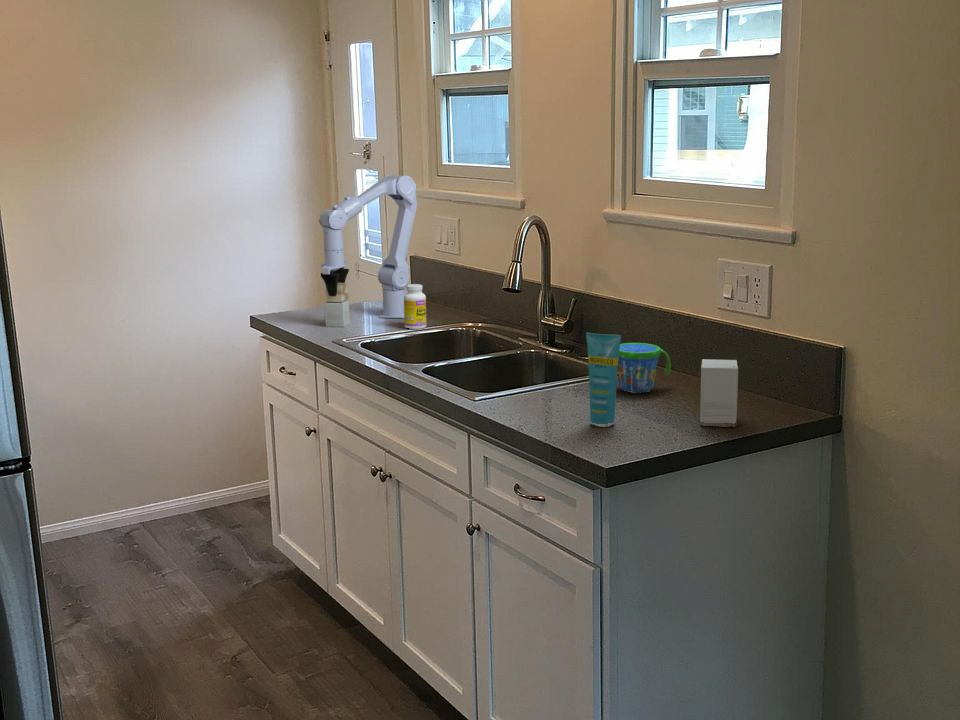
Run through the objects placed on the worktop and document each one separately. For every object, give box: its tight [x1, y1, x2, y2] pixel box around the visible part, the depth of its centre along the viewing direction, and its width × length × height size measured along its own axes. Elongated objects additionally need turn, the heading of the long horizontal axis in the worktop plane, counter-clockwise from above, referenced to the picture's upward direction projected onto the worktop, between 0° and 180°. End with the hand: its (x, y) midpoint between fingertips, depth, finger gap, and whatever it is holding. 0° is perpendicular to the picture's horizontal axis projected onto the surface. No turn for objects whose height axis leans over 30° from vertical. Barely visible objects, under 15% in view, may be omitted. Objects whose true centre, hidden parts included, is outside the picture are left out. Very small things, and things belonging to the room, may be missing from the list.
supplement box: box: [699, 358, 739, 424], centre depth 215 cm, size 7×7×13 cm
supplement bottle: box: [403, 283, 428, 330], centre depth 313 cm, size 7×7×13 cm
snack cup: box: [617, 342, 672, 393], centre depth 240 cm, size 16×10×10 cm
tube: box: [585, 332, 622, 424], centre depth 214 cm, size 7×5×19 cm, turn 69°
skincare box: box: [323, 299, 351, 328], centre depth 320 cm, size 6×6×7 cm
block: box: [325, 282, 349, 303], centre depth 318 cm, size 5×5×5 cm
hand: (336, 294), depth 318 cm, fingers closed on block, 5 cm apart
